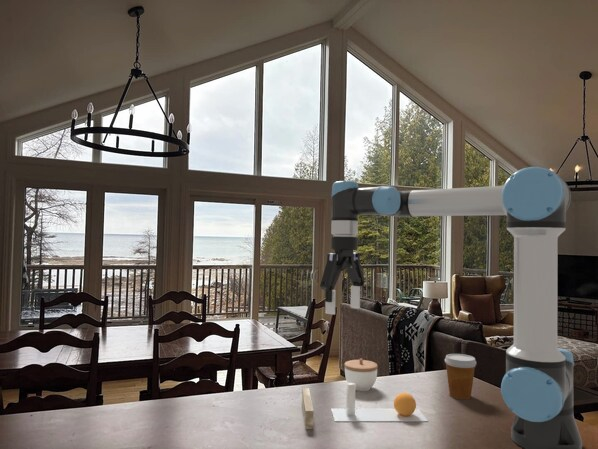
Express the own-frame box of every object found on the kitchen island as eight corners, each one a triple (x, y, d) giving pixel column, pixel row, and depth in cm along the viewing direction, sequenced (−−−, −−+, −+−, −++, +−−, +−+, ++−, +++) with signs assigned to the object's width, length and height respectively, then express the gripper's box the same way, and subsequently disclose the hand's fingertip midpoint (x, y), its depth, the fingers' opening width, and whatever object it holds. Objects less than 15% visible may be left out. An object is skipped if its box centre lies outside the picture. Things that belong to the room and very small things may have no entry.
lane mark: (417, 409, 133) (417, 408, 133) (427, 421, 124) (427, 420, 124) (330, 409, 132) (331, 408, 132) (334, 421, 123) (334, 420, 123)
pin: (356, 414, 128) (357, 383, 128) (352, 417, 126) (352, 385, 126) (349, 412, 130) (349, 382, 130) (344, 415, 128) (345, 384, 128)
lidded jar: (376, 394, 145) (377, 364, 145) (342, 391, 147) (342, 362, 148) (377, 384, 156) (378, 355, 156) (345, 381, 158) (346, 353, 158)
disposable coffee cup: (444, 399, 142) (444, 359, 142) (444, 389, 151) (444, 352, 151) (477, 402, 139) (477, 362, 140) (475, 392, 148) (475, 354, 149)
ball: (419, 414, 129) (419, 392, 129) (410, 421, 124) (410, 398, 124) (399, 409, 133) (399, 388, 133) (390, 415, 128) (390, 393, 128)
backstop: (308, 403, 136) (308, 387, 136) (313, 428, 118) (313, 410, 119) (301, 403, 136) (302, 387, 136) (305, 428, 118) (305, 410, 118)
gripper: (354, 236, 144) (353, 304, 144) (308, 235, 124) (306, 314, 124) (376, 236, 140) (375, 307, 139) (331, 235, 120) (330, 318, 119)
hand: (343, 311), depth 132 cm, fingers open, 13 cm apart
